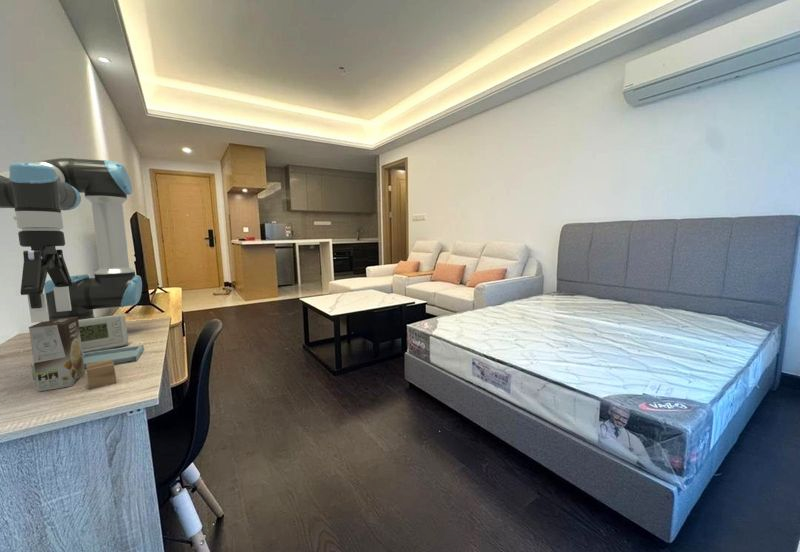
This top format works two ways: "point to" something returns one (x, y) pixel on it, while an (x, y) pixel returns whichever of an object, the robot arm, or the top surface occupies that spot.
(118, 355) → the tray
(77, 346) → the coffee box
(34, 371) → the sage block
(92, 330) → the digital clock
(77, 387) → the top surface
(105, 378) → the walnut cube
